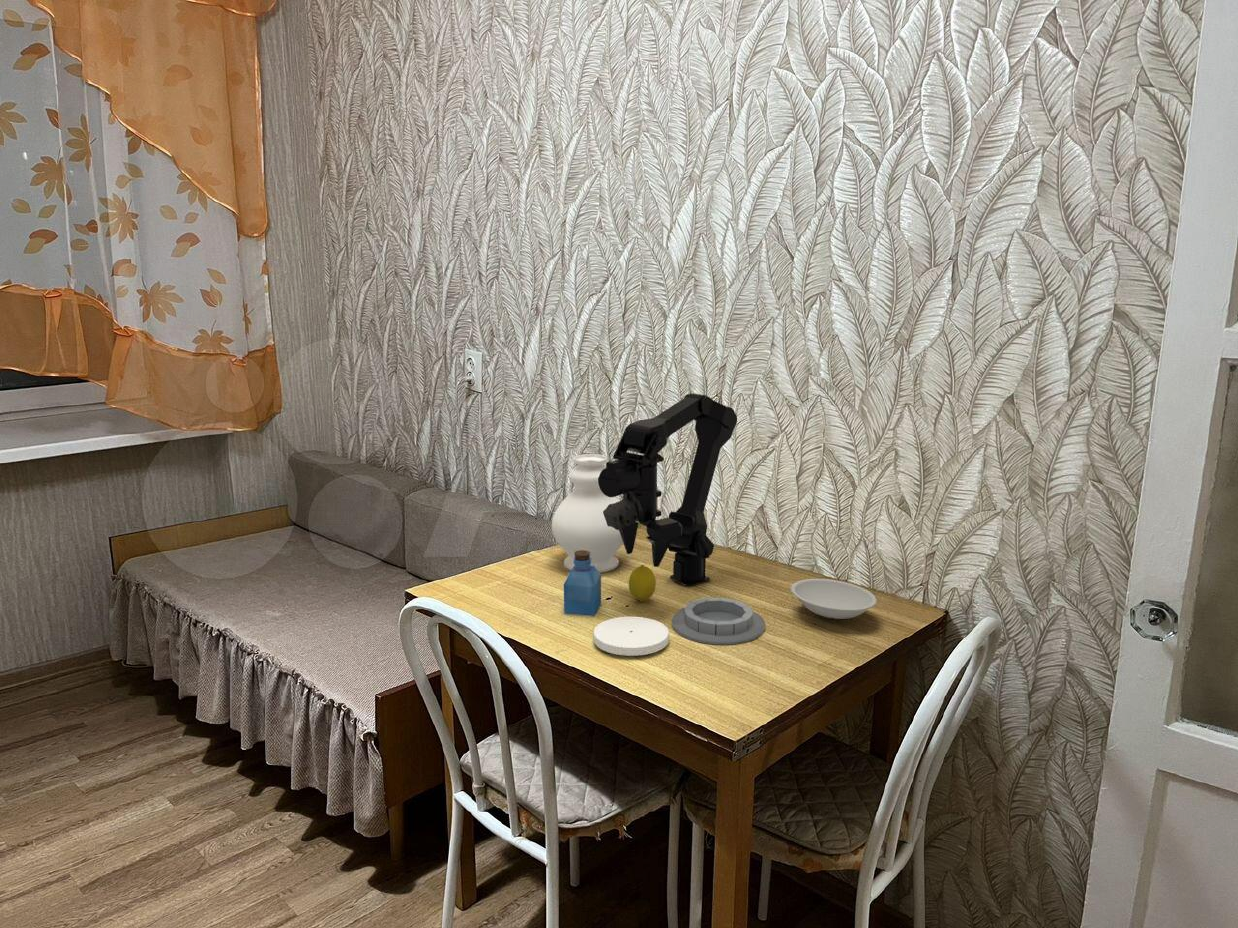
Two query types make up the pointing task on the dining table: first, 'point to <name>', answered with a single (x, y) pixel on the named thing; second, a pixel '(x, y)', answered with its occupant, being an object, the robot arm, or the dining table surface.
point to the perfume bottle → (582, 587)
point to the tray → (718, 639)
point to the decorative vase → (587, 517)
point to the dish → (833, 598)
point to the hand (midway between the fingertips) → (642, 559)
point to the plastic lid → (631, 636)
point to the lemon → (642, 583)
